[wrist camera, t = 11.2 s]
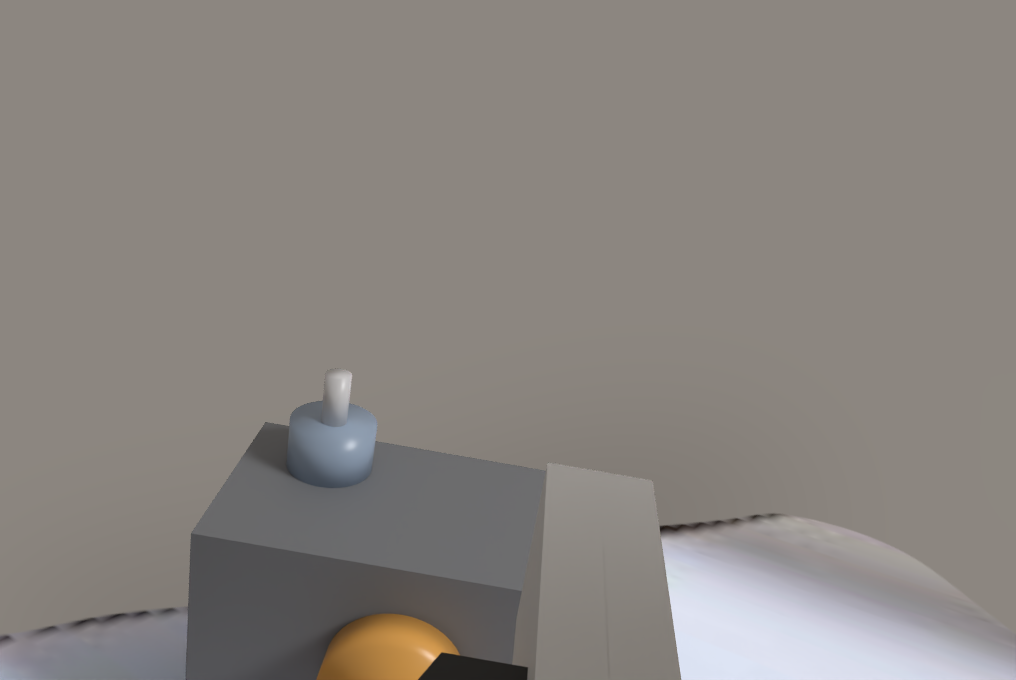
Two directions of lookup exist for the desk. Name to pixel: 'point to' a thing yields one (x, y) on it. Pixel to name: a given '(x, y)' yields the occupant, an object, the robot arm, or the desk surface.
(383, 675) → the knob
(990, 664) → the desk surface
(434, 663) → the robot arm
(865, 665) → the desk surface
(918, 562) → the desk surface
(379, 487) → the housing
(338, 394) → the knob
